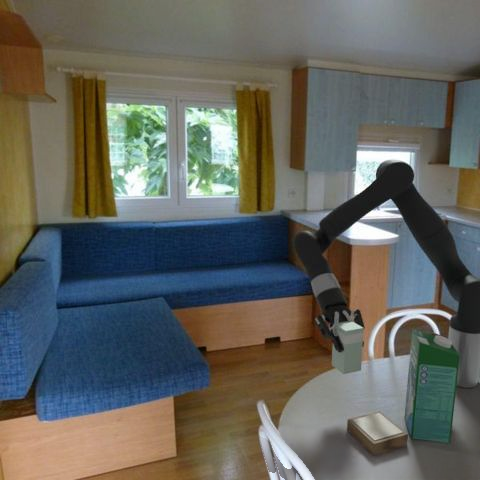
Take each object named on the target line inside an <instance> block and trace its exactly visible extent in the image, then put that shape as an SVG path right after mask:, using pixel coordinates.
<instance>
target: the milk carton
mask: <svg viewBox="0 0 480 480" xmlns="http://www.w3.org/2000/svg"><path fill="white" fill-rule="evenodd" d="M443 336H444V335H443ZM443 336H438V335H436V336H434V335H431V334H429V333H428V332H424V331H421V330H418V329H415V328H412V329H411V341H410V351H409V363H408V372H407V373H408V375H407V376H408V377H407V384H406V385H407V386H406V395H405V397H406V398H405V408H404V410H405V411H404V419H405V423H406V427H407V429H408V432H409V433H408V434H409V436H410V438H411V439H415V440H423V441H431V442H438V443H439V442H440V443H445V444H446V443H447V444H450V443H451V439H452V431H453V430H452V429H453V423H454V422H453V421H454V413H455V412H454V411H455V405H456V403H455V402H456V397H457V396H456V395H457V387H458V386H457V378H458V369H459V360H460V355H459V354H458V352H457V351H456V349H455V348H454V346H453V345H452V341H451V340H449V339H447V338H448V337H446V336H445V337H446V338H445V337H443Z"/></svg>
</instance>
